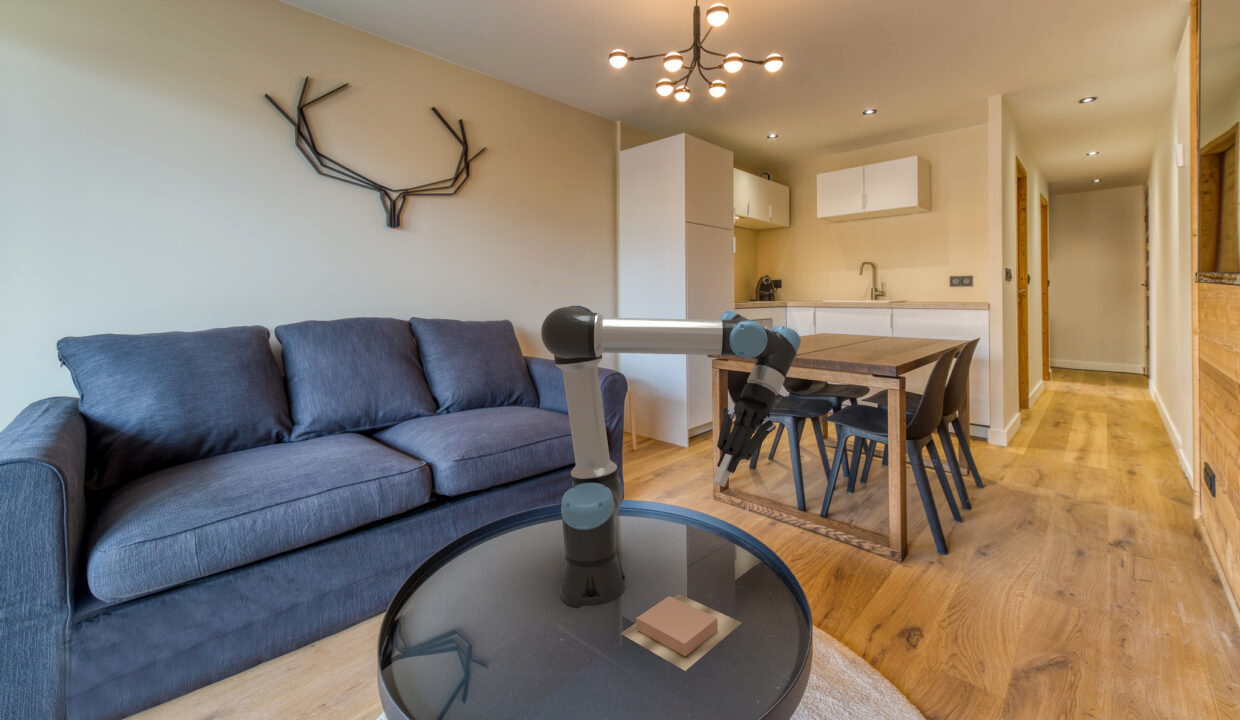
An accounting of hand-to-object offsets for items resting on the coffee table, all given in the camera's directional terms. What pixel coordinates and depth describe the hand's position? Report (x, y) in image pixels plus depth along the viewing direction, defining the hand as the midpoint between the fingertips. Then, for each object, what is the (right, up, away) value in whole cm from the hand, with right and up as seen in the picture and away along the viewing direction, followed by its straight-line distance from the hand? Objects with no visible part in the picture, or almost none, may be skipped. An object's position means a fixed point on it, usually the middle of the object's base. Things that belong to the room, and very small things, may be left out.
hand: (718, 483), depth 116 cm
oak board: (-9, -27, -10) cm, 30 cm away
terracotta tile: (-7, -24, -8) cm, 26 cm away
